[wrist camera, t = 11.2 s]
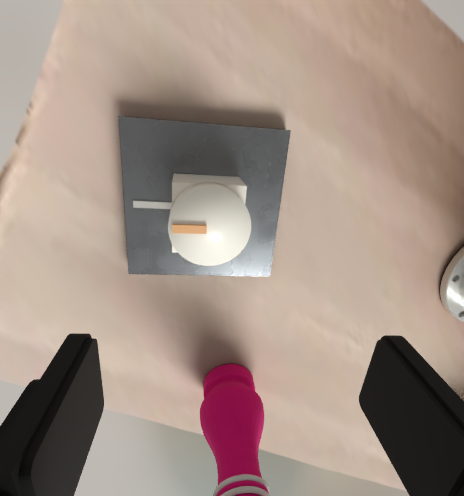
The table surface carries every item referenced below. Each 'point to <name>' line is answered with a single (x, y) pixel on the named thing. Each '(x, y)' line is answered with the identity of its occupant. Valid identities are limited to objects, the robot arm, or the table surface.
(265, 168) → the grey thin square slab
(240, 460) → the pepper mill
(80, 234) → the table surface
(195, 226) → the knob
